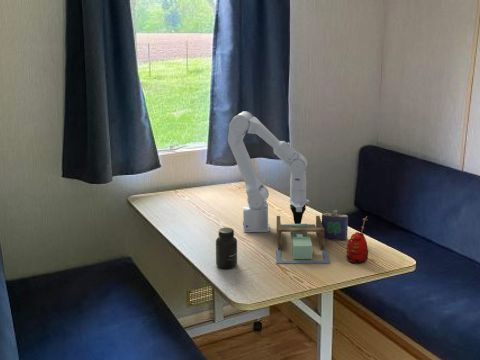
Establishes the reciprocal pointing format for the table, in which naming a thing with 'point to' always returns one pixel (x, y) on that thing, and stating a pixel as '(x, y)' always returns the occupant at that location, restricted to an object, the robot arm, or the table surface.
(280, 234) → the tunnel
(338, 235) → the flask
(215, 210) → the table surface
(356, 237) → the red clay folk toy
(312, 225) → the mat
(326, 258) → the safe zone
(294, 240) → the teal block
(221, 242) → the supplement bottle
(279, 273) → the table surface
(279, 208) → the table surface
